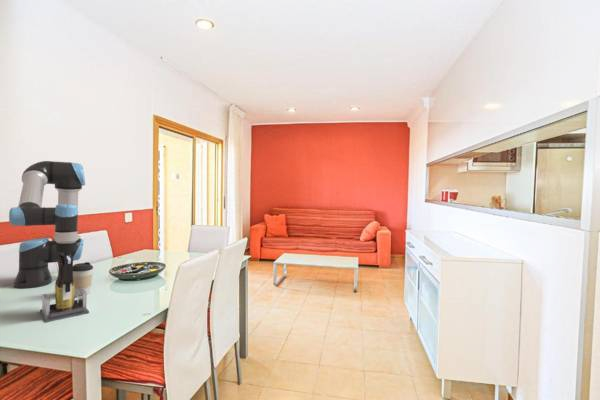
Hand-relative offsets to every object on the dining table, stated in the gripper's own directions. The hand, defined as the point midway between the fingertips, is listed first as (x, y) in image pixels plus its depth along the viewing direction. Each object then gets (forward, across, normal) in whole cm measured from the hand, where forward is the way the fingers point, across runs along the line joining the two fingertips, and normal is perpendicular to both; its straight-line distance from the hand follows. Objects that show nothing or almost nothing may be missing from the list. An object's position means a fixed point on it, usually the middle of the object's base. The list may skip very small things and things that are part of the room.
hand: (64, 296), depth 129 cm
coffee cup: (+7, -20, +10) cm, 23 cm away
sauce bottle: (+6, 0, 0) cm, 6 cm away
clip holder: (+7, 0, 0) cm, 7 cm away
